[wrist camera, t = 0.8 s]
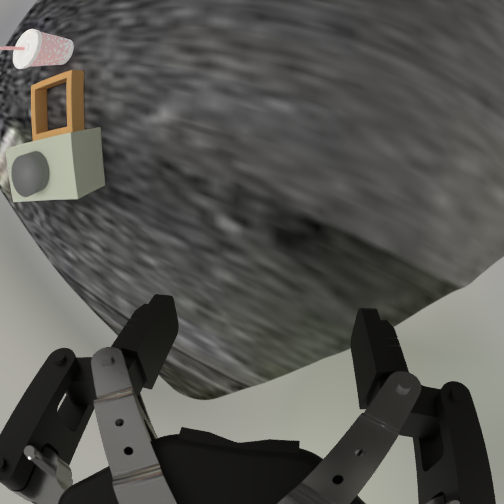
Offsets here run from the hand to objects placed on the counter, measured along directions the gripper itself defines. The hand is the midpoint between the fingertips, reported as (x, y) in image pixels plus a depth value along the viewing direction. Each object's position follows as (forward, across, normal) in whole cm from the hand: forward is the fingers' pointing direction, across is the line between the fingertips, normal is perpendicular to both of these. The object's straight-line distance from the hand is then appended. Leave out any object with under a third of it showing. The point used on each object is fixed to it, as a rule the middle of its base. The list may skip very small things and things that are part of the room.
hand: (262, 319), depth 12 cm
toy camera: (+27, +34, -9) cm, 45 cm away
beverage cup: (+28, +34, -23) cm, 49 cm away
